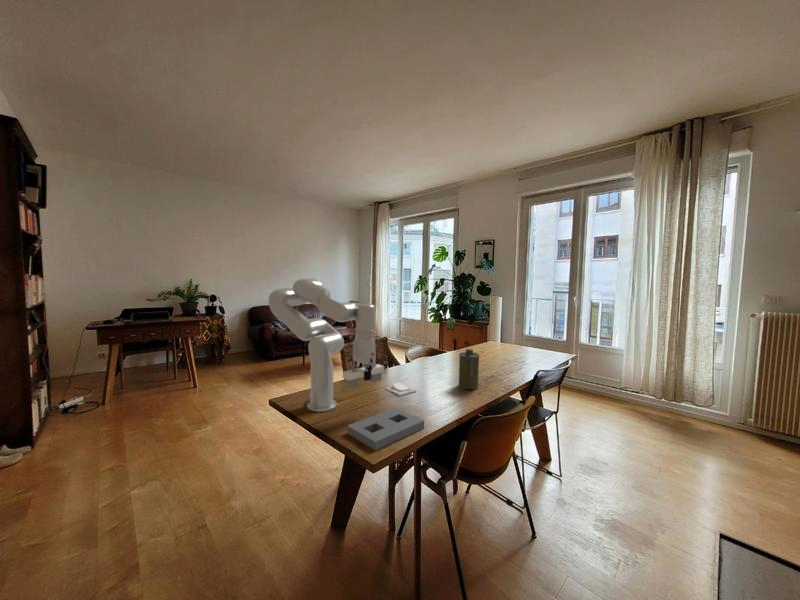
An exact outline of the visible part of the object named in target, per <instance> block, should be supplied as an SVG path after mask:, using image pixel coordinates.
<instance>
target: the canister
mask: <svg viewBox="0 0 800 600" xmlns="http://www.w3.org/2000/svg"><path fill="white" fill-rule="evenodd" d="M458 356H459V360H458V361H459V363H458V364H459V366H458V367H459V368H458V388H459V387H460V389H461V388H463V389H462V390H464V389H472V390H471V391H474V390H473V389H476V390H478V389H479V366H480V354H478V353H475V352H474V350H473V349H471V348H465V351H464V352H460V353H459V355H458ZM477 388H478V389H477Z"/></svg>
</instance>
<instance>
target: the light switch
mask: <svg viewBox="0 0 800 600" xmlns="http://www.w3.org/2000/svg"><path fill="white" fill-rule="evenodd" d="M386 389H387V390H386ZM385 390H386V391H388V392H390V391H391V392H390V393H392V392H393V393H392V394H393V395H396V396H398V397H401V396H405V395H410V394H413V393H417V392H418V391H417V389H416V388H412V387H410V386H407V385H404V383H403V382H395V383H393V384H392V385H391V386H390V387H386V388H385Z"/></svg>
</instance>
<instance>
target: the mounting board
mask: <svg viewBox="0 0 800 600" xmlns="http://www.w3.org/2000/svg"><path fill="white" fill-rule="evenodd" d="M399 421H400V422H399ZM346 427H347V430H346V431H347V433H346V434H348V435H349V436H351V437H352V438H353V439H356V440H357V441H359V442H361V443H362V444H363V445H365V446H366V447H369V448H370V449H372V450H373V451H378V450H380V449H382V448H385V447H386V445H387V446H390V445H391V444H393V443H395V442H397V440H398V441H399V439H400V440H401V438H402V439H404V438H406V437H408V436H411V435H413V434H414V433H417V432H419V431H422V430H423V429H425V420H424V419H422V418H419V417H417V416H415V415H412V414H410V413H407V412H406V411H403V410H401V409H399V408H396V407H395V408H392V409H387V410H386V411H383V412H381V413H378V414H375V415H373V416H369V417H367V418H364V419H361V420H359V421H355V422H353V423H350V424H348V425H347V426H346ZM412 433H413V434H412ZM410 434H411V435H410ZM403 437H404V438H403Z"/></svg>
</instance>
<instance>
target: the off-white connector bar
mask: <svg viewBox="0 0 800 600" xmlns="http://www.w3.org/2000/svg"><path fill="white" fill-rule="evenodd" d="M364 371H365V366H363V367H362V368H358V369H357V368H354V369H349V370H344V371H342V379H344V380H345V383H344V384H345V387H346V388H348V389H353V388H356V387H359V379H360V378H364ZM384 371H385V366H384V365H382V364H378V363H376V366H375V367H374V368H373V369H372V370H371V380H369V381H370V382H373V383H376V382H380V381H382V373H385V372H384Z"/></svg>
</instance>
